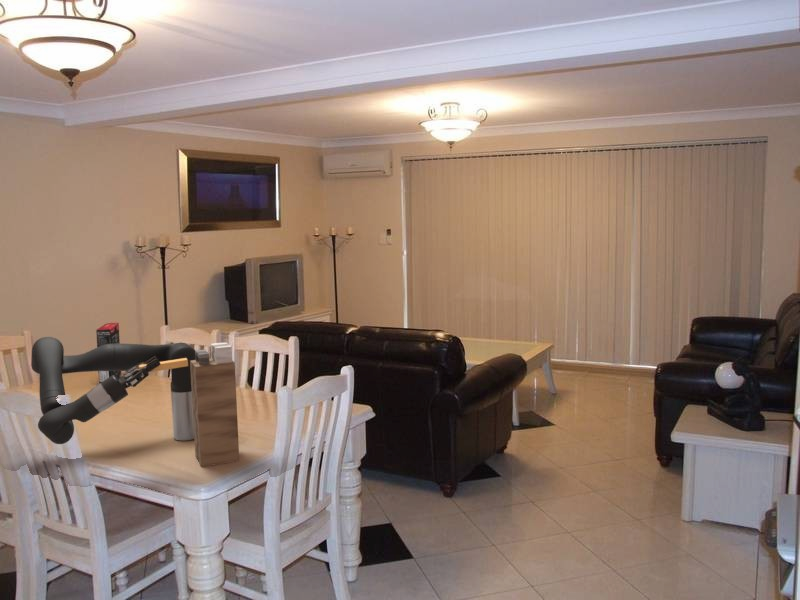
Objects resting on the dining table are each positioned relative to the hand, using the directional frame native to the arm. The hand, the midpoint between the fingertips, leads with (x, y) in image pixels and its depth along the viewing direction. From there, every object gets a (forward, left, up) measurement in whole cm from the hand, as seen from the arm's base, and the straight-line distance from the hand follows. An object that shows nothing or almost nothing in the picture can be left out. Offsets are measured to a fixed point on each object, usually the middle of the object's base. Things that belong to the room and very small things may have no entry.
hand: (157, 360), depth 213 cm
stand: (0, +16, -34) cm, 38 cm away
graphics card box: (-122, -8, -35) cm, 127 cm away
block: (0, +2, -3) cm, 3 cm away
